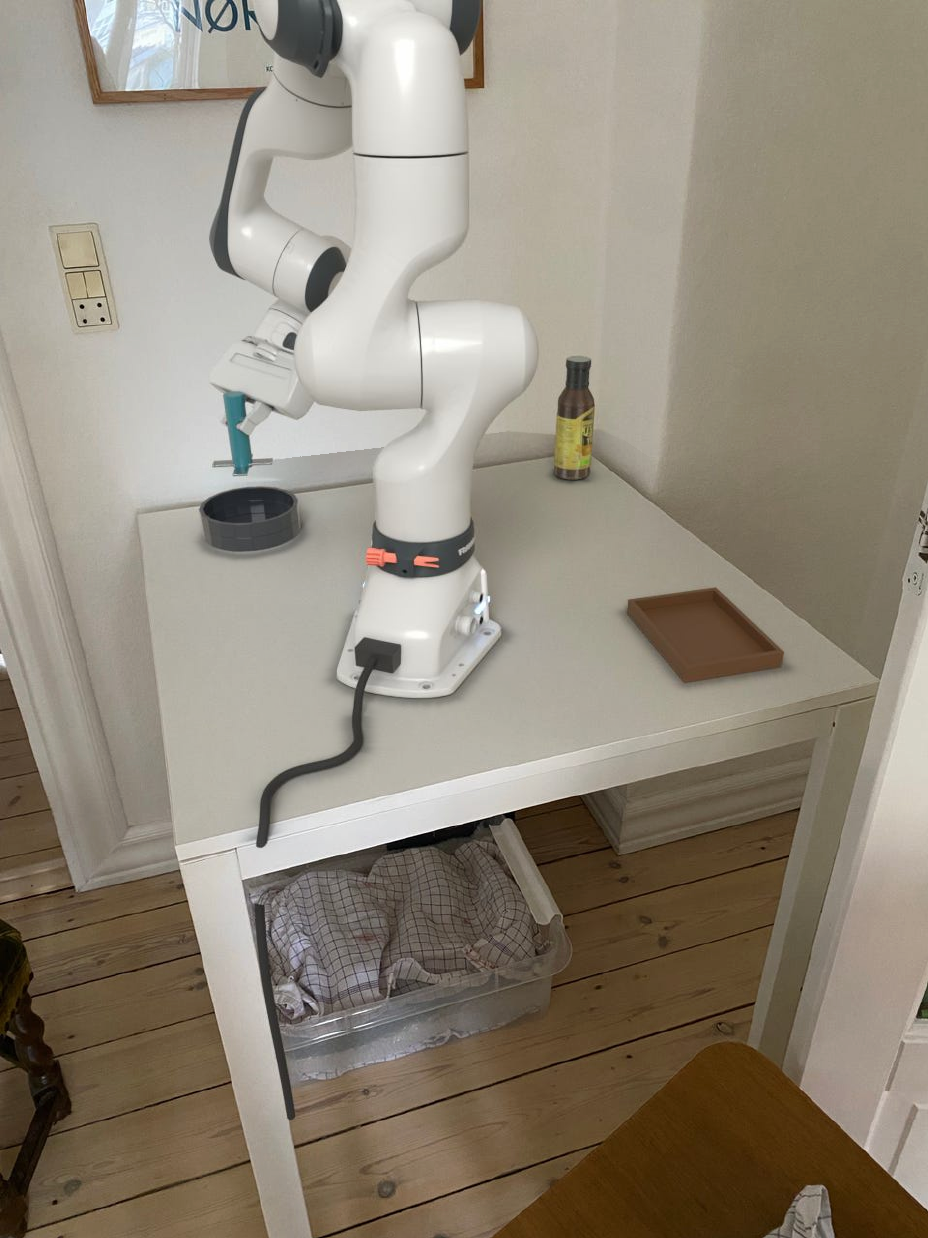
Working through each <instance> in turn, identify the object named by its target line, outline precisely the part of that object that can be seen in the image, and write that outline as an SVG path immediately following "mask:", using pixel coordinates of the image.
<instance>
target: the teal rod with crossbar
mask: <svg viewBox="0 0 928 1238" xmlns="http://www.w3.org/2000/svg"><path fill="white" fill-rule="evenodd" d="M222 397H223V406H224V412H226V419H227V426H228V427H227V432H228V440H229V447H230V453H231V459H225V460H224V459H223V460H213V462H212V465H211V467H212V468H231V467H232V468H234V470H233V472H232V477H247V476H248V475H249V470H250V468H252V467H253V466H272V465H273V462H274V458H272V457H270V458H269V457H268V458H253V457H254V454H253V453H252V446H251V439H250V435H246V434H244V433H242V432H241V431H239V430H238V429H237V428H236V425H237V424H238V423H239V420H240V419H241V417H244V418H245V417H246V416H247V415H248V414H247V408H246V403H245V400H244V393H243V392H239V391H232V392H227V393H224V394H223V393H222Z"/></svg>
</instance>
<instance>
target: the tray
mask: <svg viewBox="0 0 928 1238" xmlns="http://www.w3.org/2000/svg"><path fill="white" fill-rule="evenodd" d="M626 615H627V616H628V617H629V618H630V620H631V621H632V622H633V623H634V624H635V625H636V627H637V628H638V629H639V630H640V631H641V633H642V634H643V635H644V636H645V638H646V639H647V640H648V641H649V642H650V644H651V645H652V646H653V647H654V648H655V649H656V651H657V652H658V653H659V654H660V655H661V657H662V658H663V659H664V660H665V662H666V663H667V664H668V665H669V667H671V669H672V670H673V671H674V672H675V673H676V676H678V677H679V678H680V680H681V681H682V682H683V683H684V684H687V683H691V682H698V681H704V680H710V679H718V678H722V677H728V676H729V677H730V676H734V675H741V674H747V673H748V674H749V673H754V672H760V671H766V670H772V669H778V668H782V665H783V660H784V655H785V651H784V650H783V649H782V647H780V646H779V645H777V643H775V641H774V640H772V639H771V638H770V637H769V636H768V635H767V634H766V633H765V632H764V631H763V630H762V629H761V628H760V627H758V626H757V625H756V623H755V622H753V621H752V620H751V619H750V618H749V617H748V616H747V615H746V614H745V613H744V612H743V611H742V610H741V609H740V608H738V607H737V606H736V605H735V604H734V602H732V601H731V600H730V599H729V598H728V597H727V596H726V595H725V594H724V593H723V592H722V591H721V590H720V589H718V588H717V587H707V588H700V589H693V590H687V591H680V592H672V593H671V592H670V593H666V594H658V595H650V596H644V597H636V598H629V599H627V608H626Z"/></svg>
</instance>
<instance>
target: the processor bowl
mask: <svg viewBox="0 0 928 1238" xmlns="http://www.w3.org/2000/svg"><path fill="white" fill-rule="evenodd" d="M299 505H300V504H299V500H298V498H297V496H296V495H295V494H294V493H292V492H290V491H289V490H287V489H283V488H279V487H275V486H274V487H273V486H262V485H260V486H258V485H257V486H245V487H237V488H232V489H229V490H224V491H221V492H218V493H216V494H213V495H211V496H209V497H208V498H206V499H205V500H204V501H202V502H201V503H200V506H199V508H198V512H199V518H200V525H201V532H202V536H203V539H204V541H205V542H206V543H207V544H208V545H209V546H211V547H213V548H215V549H219V550H223V551H226V552H237V553H238V552H239V553H240V552H241V553H245V552H259V551H264V550H270V549H272V548H276V547H279V546H281V545H284V544H287V543H288V542H289V541H291V540H293V539H294V538H295V537H296V536H298V534H299V533H300V531H301V526H302V524H301V515H300V506H299Z"/></svg>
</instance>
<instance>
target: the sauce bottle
mask: <svg viewBox="0 0 928 1238" xmlns="http://www.w3.org/2000/svg"><path fill="white" fill-rule="evenodd" d="M591 367H592V358H590V357H588V356H583V355H570V356H567V358H566V360H565V368H566V377H565V387H564V389H563V390H562V391H561V393H560V394H559V396H558V398H557V412H556V418H555V419H556V420H555V439H554V440H555V441H554V456H553V457H554V458H553V461H554V462H553V464H554V469H553V471H554V476H556V477H557V478H559V479H563V480H571V481H577V480H583V479H585V478H587V477H588V476H589V475H590V474H591V470H590V469H591V465H592V453H593V440H594V428H595V427H594V424H595V410H596V404H595V398H594V395H593V393H592V392H591V389H590V388H589V386H590V371H591Z"/></svg>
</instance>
